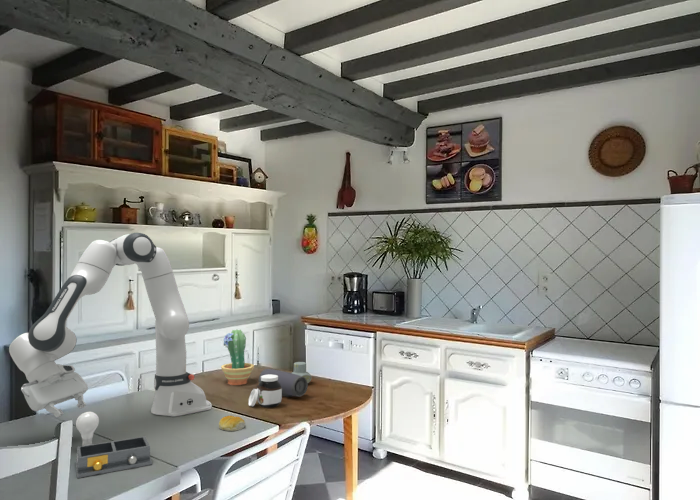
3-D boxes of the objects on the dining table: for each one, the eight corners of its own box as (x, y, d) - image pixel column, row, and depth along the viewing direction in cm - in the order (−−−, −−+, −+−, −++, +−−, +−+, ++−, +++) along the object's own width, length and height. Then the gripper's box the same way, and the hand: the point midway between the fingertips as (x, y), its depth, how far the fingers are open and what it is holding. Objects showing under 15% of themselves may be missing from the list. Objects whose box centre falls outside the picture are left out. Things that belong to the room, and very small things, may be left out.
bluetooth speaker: (308, 397, 217) (309, 373, 217) (292, 401, 210) (293, 377, 210) (273, 388, 232) (273, 366, 232) (257, 391, 225) (257, 369, 225)
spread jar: (284, 405, 204) (284, 376, 204) (261, 412, 196) (262, 381, 196) (266, 400, 212) (266, 372, 212) (243, 405, 204) (243, 376, 204)
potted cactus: (223, 379, 247) (223, 327, 248) (255, 378, 249) (255, 327, 249) (218, 387, 232) (219, 332, 232) (252, 386, 234) (253, 332, 234)
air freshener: (303, 380, 246) (303, 360, 246) (314, 384, 240) (314, 362, 240) (285, 384, 239) (285, 363, 239) (295, 387, 232) (295, 366, 233)
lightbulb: (88, 452, 154) (89, 415, 154) (70, 450, 155) (71, 414, 155) (103, 444, 160) (103, 409, 160) (85, 443, 161) (86, 408, 161)
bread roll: (230, 422, 184) (230, 411, 184) (248, 427, 179) (248, 415, 179) (213, 428, 177) (213, 417, 177) (231, 433, 172) (231, 421, 172)
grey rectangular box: (145, 450, 156) (145, 435, 156) (151, 464, 145) (152, 449, 145) (75, 462, 146) (76, 446, 146) (77, 478, 136) (77, 461, 136)
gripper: (24, 378, 151) (51, 414, 148) (76, 364, 171) (101, 396, 168) (12, 392, 152) (38, 428, 149) (65, 377, 171) (89, 408, 169)
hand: (72, 411), depth 159 cm, fingers open, 8 cm apart
